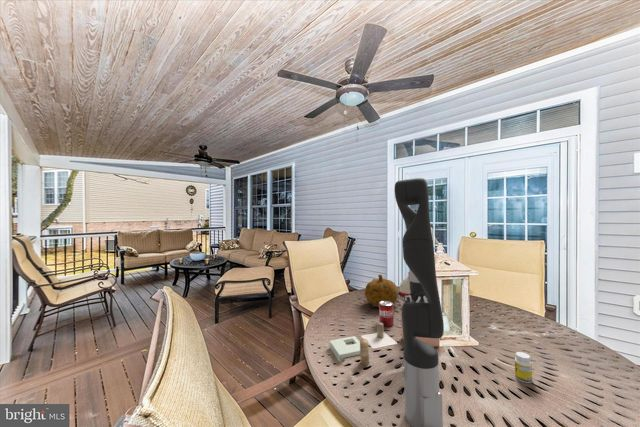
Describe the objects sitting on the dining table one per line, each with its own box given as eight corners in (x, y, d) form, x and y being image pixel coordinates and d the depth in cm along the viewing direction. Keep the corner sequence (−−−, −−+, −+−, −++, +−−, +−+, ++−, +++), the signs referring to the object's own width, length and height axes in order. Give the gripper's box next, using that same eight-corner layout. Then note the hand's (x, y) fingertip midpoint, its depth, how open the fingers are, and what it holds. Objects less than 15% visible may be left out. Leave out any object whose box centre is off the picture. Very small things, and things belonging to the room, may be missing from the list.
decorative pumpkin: (403, 300, 167) (400, 270, 165) (393, 315, 149) (390, 281, 148) (373, 297, 177) (370, 268, 176) (361, 310, 160) (357, 278, 159)
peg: (370, 368, 99) (369, 342, 99) (363, 370, 98) (362, 343, 98) (366, 363, 102) (365, 338, 102) (359, 365, 101) (358, 339, 101)
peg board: (367, 356, 107) (366, 349, 107) (339, 362, 103) (339, 354, 103) (354, 342, 118) (354, 336, 118) (329, 347, 115) (329, 340, 115)
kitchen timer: (399, 295, 180) (398, 274, 179) (399, 289, 193) (399, 269, 193) (420, 297, 175) (420, 275, 175) (419, 290, 188) (419, 270, 188)
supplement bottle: (515, 372, 93) (514, 349, 93) (532, 378, 90) (531, 353, 90) (514, 379, 89) (514, 355, 89) (532, 385, 86) (531, 360, 86)
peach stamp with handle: (439, 348, 110) (438, 314, 110) (417, 353, 107) (416, 318, 107) (422, 337, 121) (421, 305, 121) (401, 341, 118) (400, 309, 118)
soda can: (394, 330, 129) (393, 306, 129) (379, 329, 130) (378, 305, 130) (393, 323, 136) (392, 301, 136) (379, 323, 137) (378, 300, 137)
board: (398, 346, 113) (397, 329, 113) (373, 352, 110) (372, 334, 110) (383, 334, 125) (383, 319, 125) (360, 339, 121) (360, 323, 121)
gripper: (409, 283, 108) (411, 323, 108) (438, 280, 112) (439, 318, 113) (399, 279, 115) (400, 317, 116) (426, 276, 120) (427, 312, 120)
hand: (419, 317), depth 114 cm, fingers open, 6 cm apart
